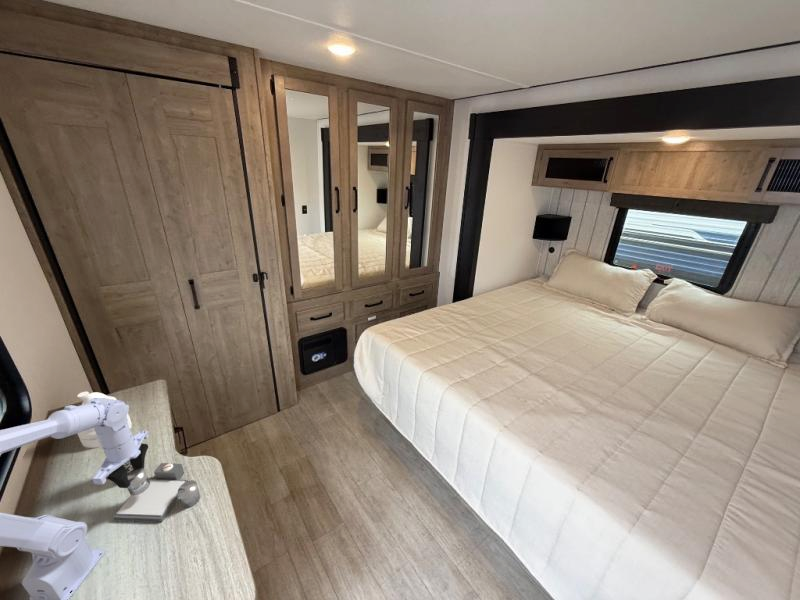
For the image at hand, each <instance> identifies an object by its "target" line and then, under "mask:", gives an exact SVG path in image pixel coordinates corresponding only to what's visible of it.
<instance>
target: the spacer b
mask: <svg viewBox="0 0 800 600" xmlns="http://www.w3.org/2000/svg"><path fill="white" fill-rule="evenodd" d="M178 495H179V498H178V499H179V501H180V503H181V506H182V507H183V508H185V509H188V508H192V507H194V506H196V505H197V504H198V503H199V501H200V499H201V493H200V489H199V487H198V483H197V481H196V480H188V481H187V482H185V483H184V484H182V485H181V486H180V487H179V489H178Z"/></svg>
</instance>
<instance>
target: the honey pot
mask: <svg viewBox="0 0 800 600" xmlns="http://www.w3.org/2000/svg"><path fill="white" fill-rule="evenodd" d="M77 398H78V399H79V400H83V401H82V403H81V405H84V404H86V403H87V402H88V401H90V400H91V399H93V398H108V399H114V400H117V398H116V397H114V396H111V395H106V394H104V393H102V392H97V391H96V392H89V391H81V392H79V393H78V394H77ZM127 419H128V421H127V423H128V425H129V428H130V430H131V428H132V425H133V423H132V420H131V417H130V415H129V413H128V414H127ZM77 436H78V438H79V441H80V443H81V445H82V446H83V447H84V448H87V449H88V448H89V449H95V448H102V446H101V444H100V441H99V439H98V437H97V435H96V432H95V430H94V428H92V429H89V430H86V431H83V432H80V433H77Z"/></svg>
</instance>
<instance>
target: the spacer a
mask: <svg viewBox="0 0 800 600" xmlns="http://www.w3.org/2000/svg"><path fill="white" fill-rule="evenodd" d="M127 477H128V480H129V487H128V488H126V489H127V491H128V493H129V495H130V496H131V495H132V496H135V495H139V494H141V493H143V492H144V491H145V490H147V489H148V487H149V486H150V481H149V479H150V478H149V477H148V475H147V473H146V471H145V468H144V469H143V468H136V469H133V470H131V471H130V472H128V473H127ZM148 478H149V479H148Z"/></svg>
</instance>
